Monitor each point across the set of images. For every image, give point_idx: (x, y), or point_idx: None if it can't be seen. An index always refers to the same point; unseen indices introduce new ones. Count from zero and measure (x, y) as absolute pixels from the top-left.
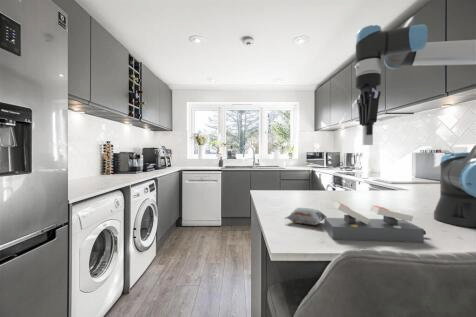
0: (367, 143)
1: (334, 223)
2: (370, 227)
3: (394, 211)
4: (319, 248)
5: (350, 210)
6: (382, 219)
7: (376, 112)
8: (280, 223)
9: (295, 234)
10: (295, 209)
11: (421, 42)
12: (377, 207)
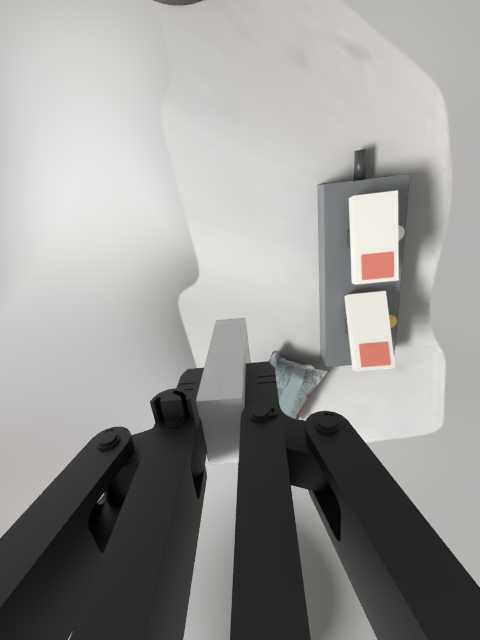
0: (248, 351)
1: None
2: (398, 291)
3: (388, 236)
4: (427, 374)
5: (390, 340)
6: (328, 242)
7: (415, 517)
8: None
9: (360, 404)
10: None
11: None
12: (382, 278)
